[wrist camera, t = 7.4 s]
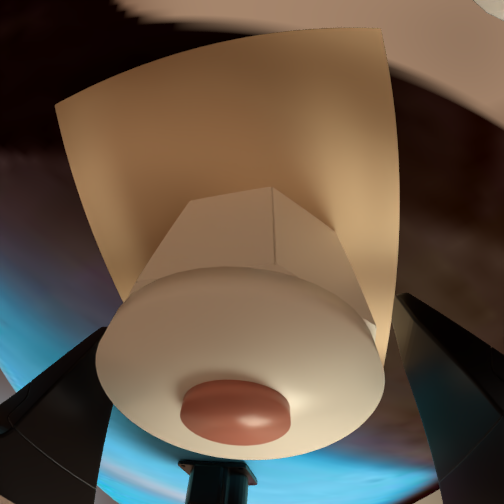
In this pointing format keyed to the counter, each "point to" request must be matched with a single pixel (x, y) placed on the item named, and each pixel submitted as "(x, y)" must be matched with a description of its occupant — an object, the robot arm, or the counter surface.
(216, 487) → the robot arm
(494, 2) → the white cup
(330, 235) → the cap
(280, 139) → the stud block
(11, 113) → the counter surface
